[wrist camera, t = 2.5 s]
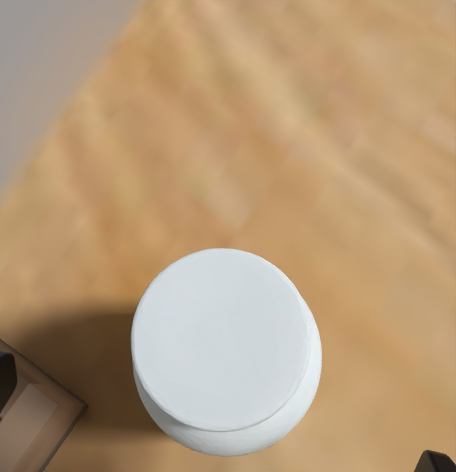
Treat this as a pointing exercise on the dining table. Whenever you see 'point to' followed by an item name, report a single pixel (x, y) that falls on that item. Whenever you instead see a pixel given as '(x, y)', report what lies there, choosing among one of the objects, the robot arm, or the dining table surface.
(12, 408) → the socket block
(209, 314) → the supplement bottle
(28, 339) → the dining table surface
